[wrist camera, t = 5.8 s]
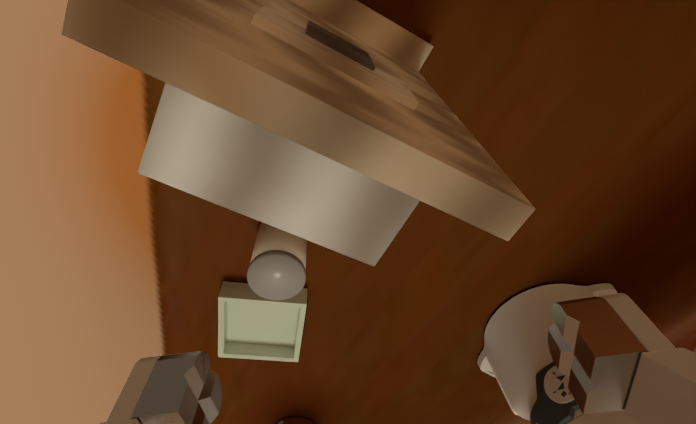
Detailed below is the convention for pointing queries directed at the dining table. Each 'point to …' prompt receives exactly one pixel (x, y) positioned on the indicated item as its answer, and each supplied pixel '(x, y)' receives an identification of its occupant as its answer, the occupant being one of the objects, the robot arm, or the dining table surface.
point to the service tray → (259, 324)
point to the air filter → (295, 421)
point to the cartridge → (277, 264)
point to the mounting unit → (301, 117)
